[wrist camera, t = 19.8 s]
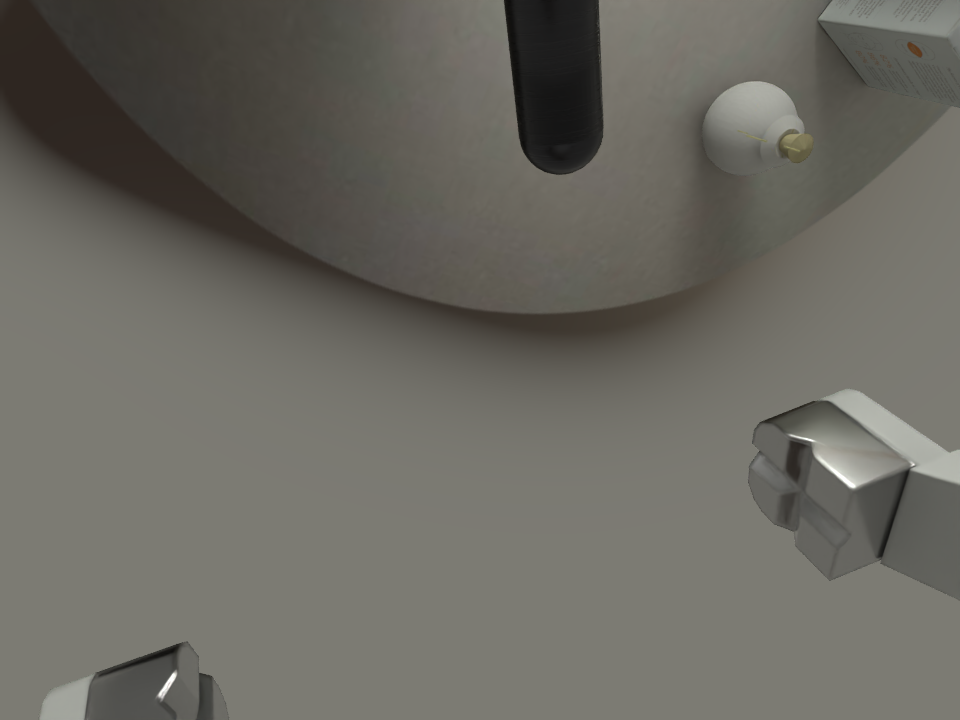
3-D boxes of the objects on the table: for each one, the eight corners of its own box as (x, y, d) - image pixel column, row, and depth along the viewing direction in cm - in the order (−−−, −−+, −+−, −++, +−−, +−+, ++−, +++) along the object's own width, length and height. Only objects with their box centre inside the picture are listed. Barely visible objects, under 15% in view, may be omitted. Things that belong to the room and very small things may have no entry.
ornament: (736, 168, 51) (835, 212, 43) (656, 151, 48) (746, 195, 40) (771, 84, 48) (884, 114, 40) (688, 60, 45) (792, 88, 37)
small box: (920, 21, 49) (1067, 38, 41) (865, 88, 51) (996, 119, 42) (872, -57, 45) (1025, -55, 37) (813, 19, 46) (948, 38, 38)
